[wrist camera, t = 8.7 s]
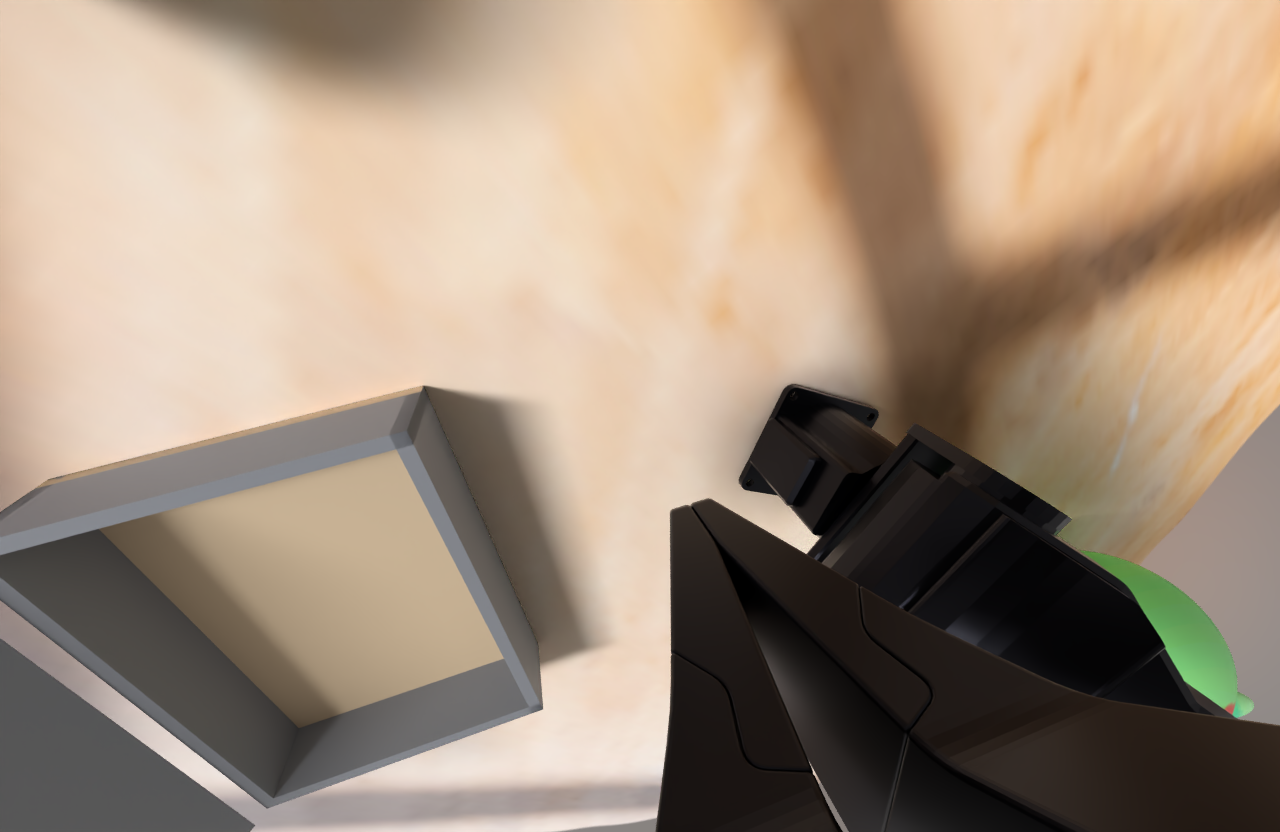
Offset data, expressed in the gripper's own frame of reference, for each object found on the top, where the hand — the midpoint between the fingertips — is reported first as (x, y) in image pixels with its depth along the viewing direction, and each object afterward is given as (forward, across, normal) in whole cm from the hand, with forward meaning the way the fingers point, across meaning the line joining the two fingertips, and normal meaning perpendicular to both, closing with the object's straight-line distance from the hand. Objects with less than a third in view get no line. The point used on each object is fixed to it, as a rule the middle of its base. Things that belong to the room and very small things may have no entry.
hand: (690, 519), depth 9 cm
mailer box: (+13, +14, +10) cm, 22 cm away
